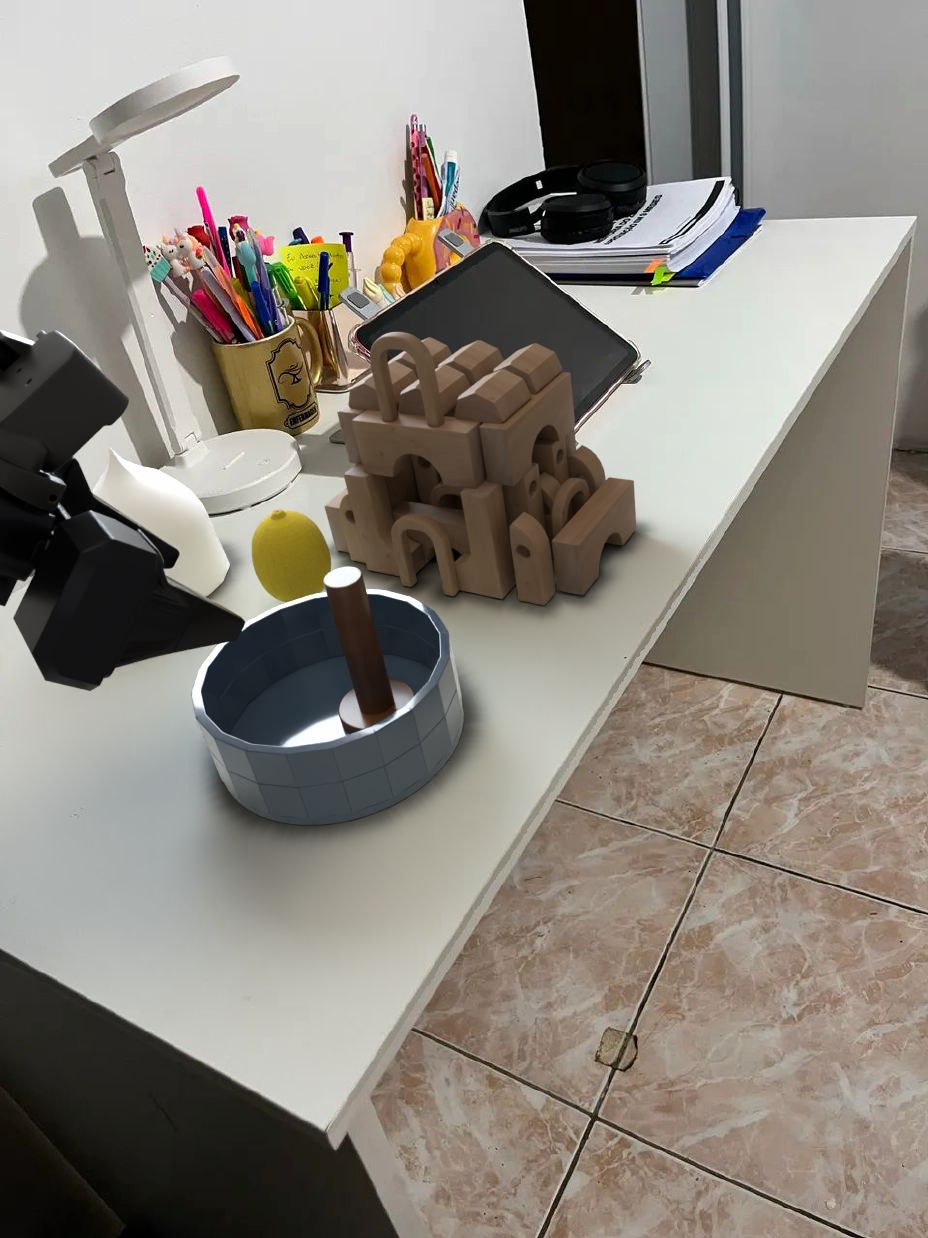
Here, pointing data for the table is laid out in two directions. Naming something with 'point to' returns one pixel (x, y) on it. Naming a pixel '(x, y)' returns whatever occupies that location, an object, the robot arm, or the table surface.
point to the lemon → (290, 555)
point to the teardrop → (167, 520)
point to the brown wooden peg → (362, 654)
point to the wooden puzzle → (474, 472)
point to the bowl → (326, 712)
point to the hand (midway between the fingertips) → (206, 592)
